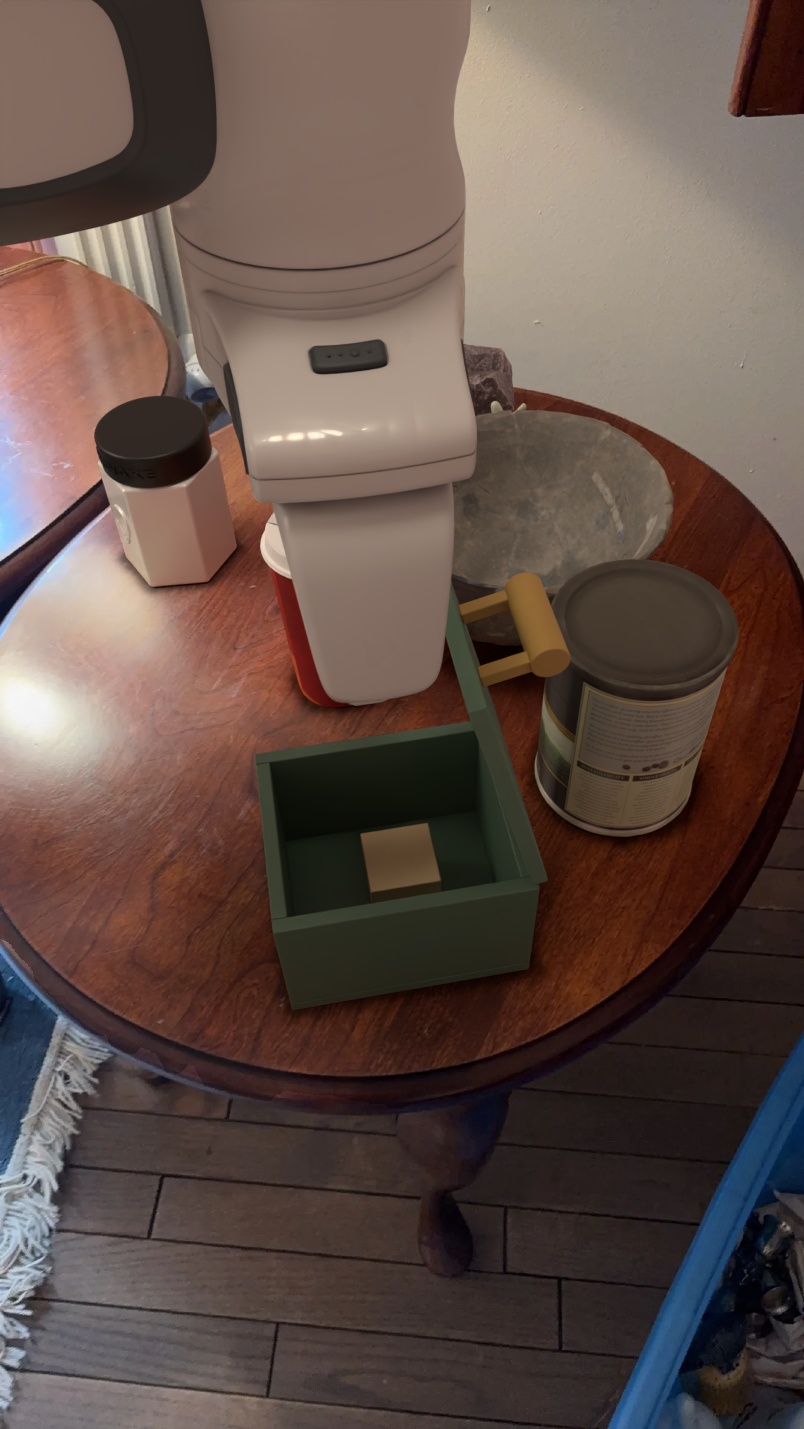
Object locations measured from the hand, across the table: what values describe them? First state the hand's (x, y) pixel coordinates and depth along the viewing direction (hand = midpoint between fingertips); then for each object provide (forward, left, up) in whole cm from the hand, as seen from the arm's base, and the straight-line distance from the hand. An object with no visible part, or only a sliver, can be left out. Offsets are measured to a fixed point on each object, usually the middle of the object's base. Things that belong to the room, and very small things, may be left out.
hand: (350, 609), depth 44 cm
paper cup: (+8, +17, -25) cm, 31 cm away
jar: (+5, +36, -25) cm, 44 cm away
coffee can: (+18, -1, -25) cm, 30 cm away
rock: (+33, +38, -26) cm, 57 cm away
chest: (+1, 0, -24) cm, 24 cm away
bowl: (+24, +16, -24) cm, 37 cm away
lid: (+5, -2, -8) cm, 10 cm away
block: (+1, -1, -24) cm, 24 cm away
